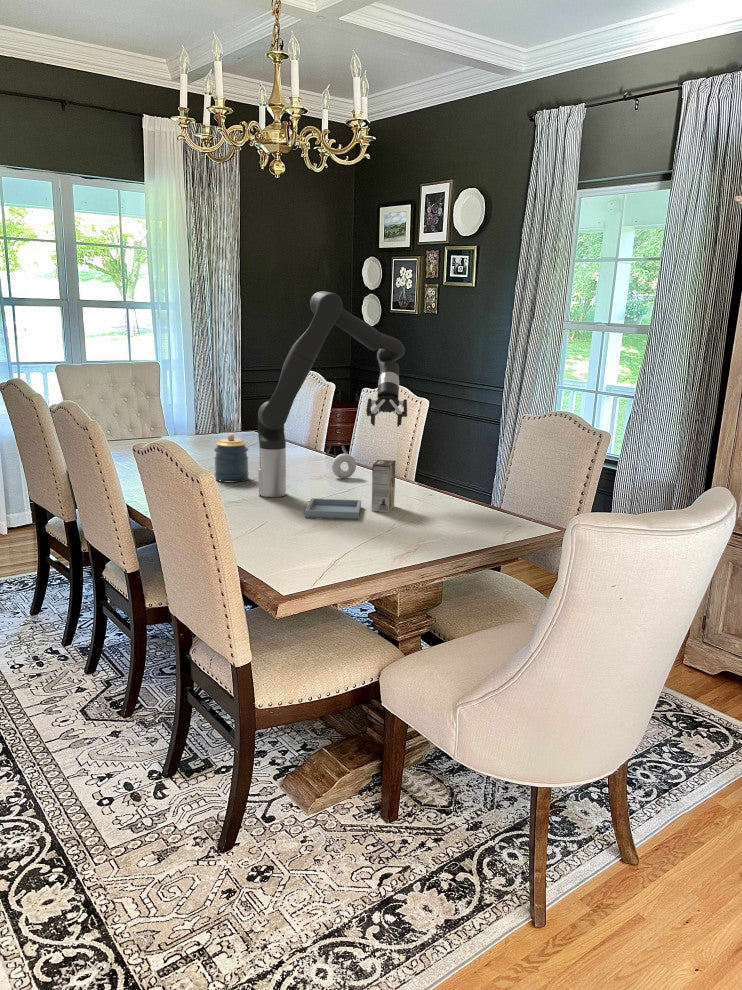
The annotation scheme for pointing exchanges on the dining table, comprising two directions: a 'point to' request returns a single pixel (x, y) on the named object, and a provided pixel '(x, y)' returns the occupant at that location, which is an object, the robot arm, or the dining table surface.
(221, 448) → the canister
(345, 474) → the donut
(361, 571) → the dining table surface
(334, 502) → the tray
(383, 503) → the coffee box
